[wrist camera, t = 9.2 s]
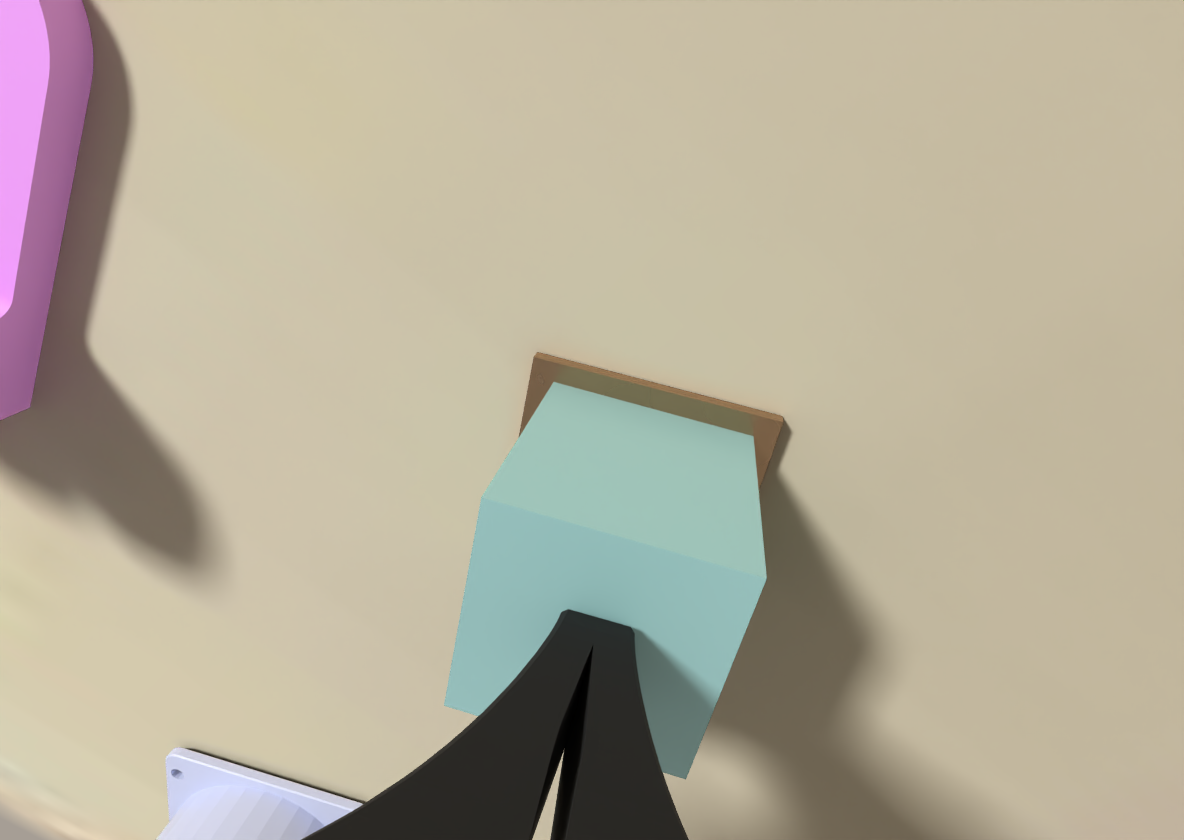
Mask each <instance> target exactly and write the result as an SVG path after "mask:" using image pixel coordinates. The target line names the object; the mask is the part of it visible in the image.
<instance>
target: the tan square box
mask: <svg viewBox="0 0 1184 840" xmlns="http://www.w3.org/2000/svg"><path fill="white" fill-rule="evenodd" d="M553 382H556V383H560V384H563V385H567V386H571V387H574V388H578V389H582V390H585V391H589V392H593V393H596V394H600V395H604V396H607V397H611V398H615V399H618V400H622V401H626V402H629V403H633V404H637V405H640V406H644V407H648V408H651V409H655V410H659V411H662V412H666V413H670V414H674V415H677V416H681V417H685V418H688V419H692V420H696V421H699V422H703V423H707V424H710V425H714V426H718V427H721V428H725V429H729V430H732V431H736V432H740V433H743V434H747V435H751V436H754V447H755V458H756V468H757V479H758V490H759V489H760V486H761V483H762V481H763V478H764V475H765V472H766V470H767V467H768V464H769V461H770V458H771V456H772V453H773V450H774V447H775V445H776V442H777V439H778V436H779V434H780V431H781V428H782V425H783V423H784V422H783V417H782V416H780V415H776V414H772V413H769V412H765V411H761V410H757V409H753V408H749V407H746V406H742V405H738V404H734V403H730V402H727V401H723V400H719V399H715V398H711V397H707V396H704V395H700V394H696V393H692V392H688V391H684V390H681V389H677V388H673V387H669V386H665V385H661V384H658V383H654V382H650V381H646V380H642V379H639V378H635V377H631V376H627V375H623V374H619V373H616V372H612V371H608V370H604V369H600V368H596V367H593V366H589V365H585V364H581V363H577V362H573V361H570V360H566V359H562V358H558V357H554V356H551V355H547V354H543V353H539V352H537V354H536V355H535V356H534V359H533V364H532V369H531V375H530V380H529V385H528V391H527V396H526V401H525V407H524V412H523V417H522V423H521V428H520V433H519V437H520V435H521V433H522V432H523V430H524V429H525V427H526V425H527V424H528V422H529V421H530V419H531V417H532V416H533V414H534V413H535V411H536V409H537V408H538V406H539V405H540V403H541V401H542V400H543V398H544V397H545V395H546V393H547V392H548V390H549V389H550V387H551V385H552V384H553Z"/></svg>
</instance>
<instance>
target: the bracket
mask: <svg viewBox="0 0 1184 840" xmlns="http://www.w3.org/2000/svg"><path fill="white" fill-rule="evenodd" d="M92 76H93V44H92V37H91V31H90V26H89V22H88V18H87V14H86V11H85V8H84V5H83V2H82V0H0V420H2V419H5V418H7V417H9V416H12V415H14V414H16V413H19V412H21V411H23V410H26V409H28V408H30V405H31V400H32V395H33V389H34V384H35V379H36V374H37V368H38V363H39V358H40V352H41V347H42V342H43V337H44V331H45V326H46V321H47V316H48V310H49V305H50V300H51V294H52V289H53V284H54V279H55V273H56V268H57V263H58V258H59V252H60V247H61V242H62V236H63V231H64V226H65V221H66V215H67V210H68V205H69V200H70V194H71V189H72V184H73V178H74V173H75V168H76V163H77V157H78V152H79V147H80V142H81V136H82V131H83V126H84V120H85V115H86V110H87V105H88V99H89V94H90V89H91V83H92Z"/></svg>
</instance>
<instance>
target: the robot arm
mask: <svg viewBox="0 0 1184 840" xmlns="http://www.w3.org/2000/svg"><path fill="white" fill-rule="evenodd" d="M564 748H565V749H564ZM563 751H564V755H563V761H562V768H561V774H560V781H559V787H558V794H557V800H556V807H555V813H554V820H553V826H552V833H551V840H689V839H688V837H687V835H686V832H685V830H684V828H683V825H682V823H681V820H680V818H679V816H678V813H677V811H676V808H675V805H674V803H673V800H672V798H671V795H670V792H669V790H668V787H667V784H666V781H665V778H664V775H663V772H662V769H661V766H660V763H659V760H658V756H657V753H656V750H655V746H654V743H653V739H652V736H651V732H650V728H649V724H648V720H647V716H646V711H645V707H644V702H643V698H642V693H641V688H640V682H639V676H638V670H637V662H636V653H635V633H634V631H633V630H632V628H631V627H630V626H626V625H623V624H619V623H616V622H612V621H609V620H605V619H602V618H598V617H595V616H591V615H588V614H584V613H581V612H577V611H574V610H570V609H567V610H565V611H563V612H561V614H560V616H559V618H558V620H557V622H556V624H555V626H554V627H553V629H552V631H551V632H550V634H549V635H548V637H547V638H546V640H545V641H544V642H543V644H542V645H541V646H540V648H539V649H538V651H537V652H536V653H535V655H534V656H533V657H532V658H531V659H530V661H529V662H528V663H527V664H526V666H525V667H524V668H523V669H522V670H521V672H520V673H519V674H518V675H517V676H516V678H515V679H514V680H513V681H512V682H511V683H510V684H509V685H508V686H507V688H506V689H505V690H504V691H503V692H502V693H501V694H500V695H499V696H498V697H497V698H496V699H495V700H494V701H493V702H492V703H491V704H490V705H489V706H488V707H487V709H485V710H484V711H483V712H482V713H481V714H480V715H479V716H478V717H477V718H476V719H475V720H474V721H473V722H472V723H471V724H470V725H469V726H468V727H466V728H465V729H464V730H463V731H462V732H461V733H460V734H458V735H457V736H456V737H455V738H454V739H453V740H452V741H450V742H449V743H448V744H447V745H446V746H444V747H443V748H442V749H441V750H439V751H438V752H437V753H436V754H434V755H433V756H432V757H431V758H429V759H428V760H427V761H426V762H424V763H423V764H422V765H420V766H419V767H418V768H416V769H415V770H414V771H412V772H411V773H409V774H408V775H407V776H405V777H404V778H402V779H401V780H399V781H398V782H396V783H395V784H393V785H392V786H390V787H389V788H387V789H386V790H384V791H383V792H381V793H380V794H378V795H377V796H375V797H374V798H372V799H371V800H369V801H368V802H366V803H365V804H362V803H360V802H356V801H353V800H350V799H347V798H343V797H340V796H337V795H334V794H331V793H327V792H324V791H321V790H318V789H314V788H311V787H308V786H305V785H301V784H298V783H295V782H292V781H289V780H285V779H282V778H279V777H276V776H272V775H269V774H266V773H263V772H259V771H256V770H253V769H250V768H247V767H243V766H240V765H237V764H234V763H230V762H227V761H224V760H221V759H218V758H214V757H211V756H208V755H205V754H201V753H198V752H195V751H192V750H188V749H185V748H180V747H179V748H174V749H173V750H172V751H171V752H170V753H169V754H168V756H167V757H166V775H167V791H168V807H169V823H168V824H167V826H166V827H165V828H164V830H163V831H162V832H161V833H160V835H159V836H158V837H157V839H156V840H532V838H533V835H534V833H535V830H536V827H537V824H538V821H539V819H540V816H541V813H542V810H543V807H544V805H545V802H546V799H547V796H548V793H549V791H550V788H551V785H552V782H553V779H554V776H555V774H556V771H557V768H558V765H559V762H560V760H561V757H562V754H563Z"/></svg>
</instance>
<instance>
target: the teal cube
mask: <svg viewBox="0 0 1184 840" xmlns="http://www.w3.org/2000/svg"><path fill="white" fill-rule="evenodd" d="M766 579H767V575H766V565H765V554H764V543H763V533H762V522H761V511H760V501H759V490H758V479H757V468H756V458H755V447H754V436H751V435H747V434H743V433H740V432H736V431H732V430H729V429H725V428H721V427H718V426H714V425H710V424H707V423H703V422H699V421H696V420H692V419H688V418H685V417H681V416H677V415H674V414H670V413H666V412H662V411H659V410H655V409H651V408H648V407H644V406H640V405H637V404H633V403H629V402H626V401H622V400H618V399H615V398H611V397H607V396H604V395H600V394H596V393H593V392H589V391H585V390H582V389H578V388H574V387H571V386H567V385H563V384H560V383H556V382H553V384H552V385H551V387H550V389H549V390H548V392H547V393H546V395H545V397H544V398H543V400H542V401H541V403H540V405H539V406H538V408H537V409H536V411H535V413H534V414H533V416H532V417H531V419H530V421H529V422H528V424H527V425H526V427H525V429H524V430H523V432H522V433H521V435H520V437H519V438H518V440H517V441H516V443H515V445H514V446H513V448H512V449H511V451H510V453H509V454H508V456H507V457H506V459H505V461H504V462H503V464H502V465H501V467H500V469H499V470H498V472H497V473H496V475H495V477H494V478H493V480H492V481H491V483H490V485H489V486H488V488H487V489H486V491H485V493H484V494H483V496H482V497H481V503H480V509H479V514H478V520H477V525H476V531H475V536H474V542H473V548H472V553H471V559H470V564H469V570H468V575H467V581H466V586H465V592H464V598H463V603H462V609H461V614H460V620H459V625H458V631H457V636H456V642H455V648H454V653H453V659H452V664H451V670H450V675H449V681H448V687H447V692H446V698H445V703H444V706H447V707H450V708H454V709H457V710H460V711H463V712H467V713H470V714H473V715H477V716H479V715H480V714H481V713H482V712H483V711H484V710H485V709H487V707H488V706H489V705H490V704H491V703H492V702H493V701H494V700H495V699H496V698H497V697H498V696H499V695H500V694H501V693H502V692H503V691H504V690H505V689H506V688H507V686H508V685H509V684H510V683H511V682H512V681H513V680H514V679H515V678H516V676H517V675H518V674H519V673H520V672H521V670H522V669H523V668H524V667H525V666H526V664H527V663H528V662H529V661H530V659H531V658H532V657H533V656H534V655H535V653H536V652H537V651H538V649H539V648H540V646H541V645H542V644H543V642H544V641H545V640H546V638H547V637H548V635H549V634H550V632H551V631H552V629H553V627H554V626H555V624H556V622H557V620H558V618H559V616H560V614H561V612H563V611H565V610H567V609H570V610H574V611H577V612H581V613H584V614H588V615H591V616H595V617H598V618H602V619H605V620H609V621H612V622H616V623H619V624H623V625H626V626H630V627H631V628H632V630H633V631H634V633H635V653H636V662H637V670H638V676H639V682H640V688H641V693H642V698H643V702H644V707H645V711H646V716H647V720H648V724H649V728H650V732H651V736H652V739H653V743H654V746H655V750H656V753H657V756H658V760H659V763H660V766H661V769H662V772H664V773H667V774H670V775H673V776H677V777H680V778H683V779H686V778H687V775H688V773H689V770H690V768H691V765H692V763H693V760H694V758H695V755H696V753H697V750H698V748H699V745H700V743H701V740H702V738H703V735H704V733H705V731H706V728H707V726H708V723H709V721H710V718H711V716H712V713H713V711H714V708H715V706H716V703H717V701H718V698H719V696H720V693H721V691H722V688H723V686H724V683H725V681H726V678H727V676H728V673H729V671H730V669H731V666H732V664H733V661H734V659H735V656H736V654H737V651H738V649H739V646H740V644H741V641H742V639H743V636H744V634H745V631H746V629H747V626H748V624H749V621H750V619H751V616H752V614H753V611H754V609H755V607H756V604H757V602H758V599H759V597H760V594H761V592H762V589H763V587H764V584H765V582H766Z"/></svg>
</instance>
